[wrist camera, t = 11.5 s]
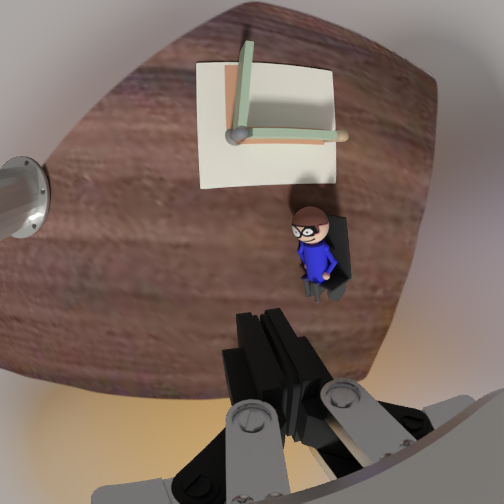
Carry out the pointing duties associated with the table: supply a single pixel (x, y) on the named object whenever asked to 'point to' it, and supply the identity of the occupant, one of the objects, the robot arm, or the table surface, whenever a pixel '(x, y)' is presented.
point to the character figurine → (323, 252)
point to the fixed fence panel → (297, 134)
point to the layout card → (264, 125)
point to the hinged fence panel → (242, 92)
